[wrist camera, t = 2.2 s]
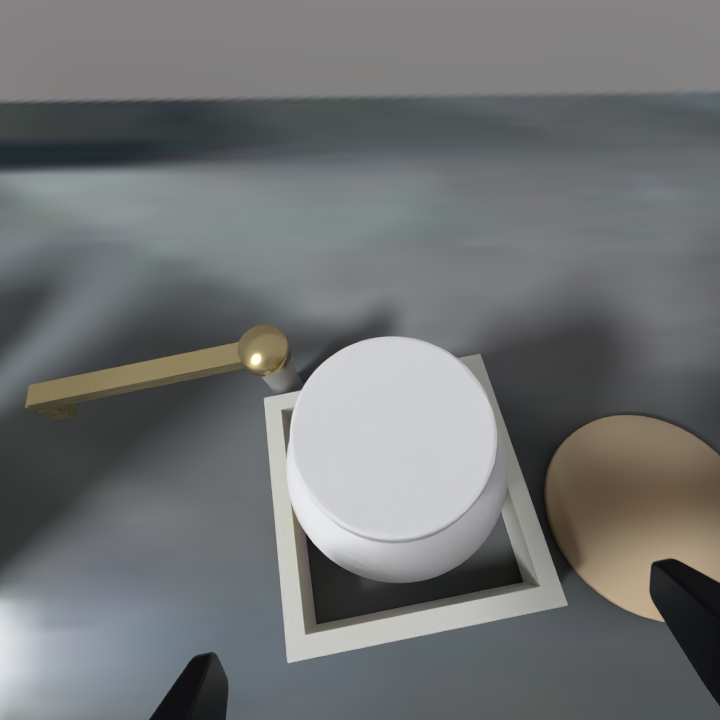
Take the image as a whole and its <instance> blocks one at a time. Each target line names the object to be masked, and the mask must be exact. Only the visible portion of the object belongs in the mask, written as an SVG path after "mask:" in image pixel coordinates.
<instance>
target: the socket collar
mask: <svg viewBox="0 0 720 720" xmlns="http://www.w3.org/2000/svg"><path fill="white" fill-rule="evenodd" d="M458 359H459V360H460V361H461V362H462V363H463V364H464V365H465V366H467V367H468V368H469V369H470V370H471V372H472V373H473V374H474V375H475V376H476V378H477V379H478V380H479V382H480V383H481V385H482V386H483V388H484V390H485V392H486V393H487V395H488V397H489V400H490V402H491V404H492V407H493V410H494V413H495V417H496V422H497V425H498V428H499V430H500V432H501V435H502V437H503V441H504V444H505V448H506V453H507V460H508V485H507V491H506V496H505V501H504V504H503V508H502V511H501V513H502V516H503V519H504V522H505V526H506V529H507V532H508V535H509V538H510V541H511V545H512V548H513V551H514V554H515V557H516V561H517V564H518V567H519V570H520V573H521V577H522V580H523V582H521V583H517V584H512V585H507V586H502V587H497V588H492V589H487V590H482V591H478V592H473V593H468V594H463V595H458V596H453V597H448V598H443V599H439V600H434V601H429V602H424V603H419V604H414V605H409V606H405V607H400V608H395V609H390V610H385V611H380V612H375V613H370V614H366V615H361V616H356V617H351V618H346V619H341V620H336V621H331V622H327V623H322V624H317V625H316V617H315V608H314V600H313V591H312V583H311V574H310V566H309V557H308V549H307V540H306V532H305V531H304V529H303V528H302V526H301V524H300V523H299V521H298V519H297V516H296V514H295V511H294V509H293V506H292V503H291V500H290V496H289V491H288V486H287V477H286V457H287V449H288V444H289V440H290V426H291V419H292V414H293V410H294V407H295V404H296V401H297V399H298V396H299V394H300V392H301V390H302V388H303V387H304V383H303V382H302V380H301V378H300V377H299V375H298V373H297V371H296V370H295V368H294V366H293V364H292V363H291V361H289V363H288V365H287V366H286V367H285V368H284V369H283V370H282V371H281V372H280V373H278V374H276V375H273V376H270V377H262V378H263V379H264V380H265V382H266V383H267V384H268V385H269V387H270V388H271V389H272V391H273V392H274V393H275V394H276V396H271V397H266V398H264V404H265V415H266V426H267V438H268V449H269V460H270V471H271V482H272V494H273V505H274V516H275V527H276V538H277V550H278V561H279V572H280V583H281V594H282V606H283V617H284V628H285V639H286V650H287V662H288V663H290V662H295V661H300V660H305V659H310V658H315V657H320V656H324V655H329V654H334V653H339V652H344V651H349V650H354V649H359V648H363V647H368V646H373V645H378V644H383V643H388V642H393V641H398V640H402V639H407V638H412V637H417V636H422V635H427V634H432V633H437V632H441V631H446V630H451V629H456V628H461V627H466V626H471V625H475V624H480V623H485V622H490V621H495V620H500V619H505V618H510V617H514V616H519V615H524V614H529V613H534V612H539V611H544V610H549V609H553V608H558V607H563V606H568V604H567V601H566V598H565V595H564V593H563V590H562V587H561V584H560V581H559V578H558V575H557V572H556V570H555V567H554V564H553V561H552V558H551V555H550V552H549V549H548V547H547V544H546V541H545V538H544V535H543V532H542V529H541V526H540V524H539V521H538V518H537V515H536V512H535V509H534V506H533V503H532V501H531V498H530V495H529V492H528V489H527V486H526V483H525V481H524V478H523V475H522V472H521V469H520V466H519V463H518V460H517V458H516V455H515V452H514V449H513V446H512V443H511V440H510V437H509V435H508V432H507V429H506V426H505V423H504V420H503V417H502V414H501V412H500V409H499V406H498V403H497V400H496V397H495V394H494V391H493V389H492V386H491V383H490V380H489V377H488V374H487V371H486V368H485V366H484V363H483V360H482V357H481V354H476V355H471V356H466V357H461V358H458Z"/></svg>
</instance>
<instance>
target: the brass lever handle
mask: <svg viewBox="0 0 720 720" xmlns="http://www.w3.org/2000/svg"><path fill="white" fill-rule="evenodd" d="M290 358H291V347H290V345H289V343H288V341H287V339H286V337H285V335H284V333H283V332H282V331H281V330H280V329H279V328H277V327H275V326H273V325H268V324H263V325H258V326H255V327H253V328H251V329H249V330H248V331H246V332H245V333H244V334H243V336H242V337H241V339H240V341H239V342H237V343H232V344H227V345H222V346H217V347H212V348H208V349H203V350H198V351H193V352H188V353H183V354H178V355H173V356H169V357H164V358H159V359H154V360H149V361H144V362H139V363H134V364H130V365H125V366H120V367H115V368H110V369H105V370H100V371H95V372H90V373H86V374H81V375H76V376H71V377H66V378H61V379H56V380H51V381H47V382H42V383H37V384H32V385H29V388H28V394H27V400H26V406H25V408H26V409H28V410H31V411H34V412H36V413H39V414H42V415H44V416H47V417H50V418H52V419H55V420H58V421H61V420H66V419H71V418H75V414H76V406H77V403H79V402H84V401H89V400H93V399H98V398H103V397H108V396H113V395H118V394H123V393H128V392H133V391H137V390H142V389H147V388H152V387H157V386H162V385H167V384H172V383H176V382H181V381H186V380H191V379H196V378H201V377H206V376H211V375H215V374H220V373H225V372H230V371H235V370H240V369H245V368H247V369H248V370H249V371H250V372H251V373H252V374H254V375H256V376H259V377H270V376H273V375H276V374H278V373H280V372H281V371H282V370H283V369H284V368H285V367H286V366H287V365H288V363H289V361H290Z"/></svg>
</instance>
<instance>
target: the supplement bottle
mask: <svg viewBox="0 0 720 720" xmlns="http://www.w3.org/2000/svg"><path fill="white" fill-rule="evenodd" d="M286 477H287V486H288V491H289V496H290V500H291V503H292V506H293V509H294V511H295V514H296V516H297V519H298V521H299V523H300V524H301V526H302V528H303V529H304V531H305V532H306V534H307V535H308V537H309V538H310V539H311V540H312V542H313V543H314V544H315V545H316V546H317V547H318V548H319V549H320V550H321V551H322V552H323V553H324V554H325V555H326V556H327V557H328V558H330V559H331V560H332V561H334V562H335V563H336V564H338V565H339V566H341V567H343V568H344V569H346V570H348V571H350V572H352V573H354V574H357V575H359V576H362V577H365V578H368V579H371V580H376V581H381V582H389V583H411V582H418V581H422V580H427V579H431V578H434V577H437V576H439V575H442V574H444V573H446V572H448V571H450V570H452V569H453V568H455V567H457V566H459V565H460V564H461V563H463V562H464V561H465V560H467V559H468V558H469V557H471V556H472V555H473V554H474V553H475V552H476V551H477V550H478V549H479V548H480V546H481V545H482V544H483V542H484V541H485V540H486V539H487V537H488V536H489V534H490V533H491V531H492V529H493V528H494V526H495V524H496V522H497V520H498V518H499V516H500V513H501V511H502V508H503V504H504V501H505V496H506V491H507V485H508V460H507V453H506V448H505V444H504V441H503V437H502V435H501V432H500V430H499V428H498V425H497V422H496V417H495V413H494V410H493V407H492V404H491V402H490V400H489V397H488V395H487V393H486V392H485V390H484V388H483V386H482V385H481V383H480V382H479V380H478V379H477V378H476V376H475V375H474V374H473V373H472V372H471V370H470V369H469V368H468V367H467V366H465V365H464V364H463V363H462V362H461V361H460V360H459V359H458V358H456V357H455V356H454V355H452V354H451V353H449V352H447V351H446V350H444V349H442V348H440V347H438V346H436V345H434V344H431V343H428V342H425V341H423V340H418V339H414V338H408V337H399V336H388V337H376V338H371V339H367V340H363V341H360V342H357V343H355V344H352V345H350V346H347V347H345V348H343V349H341V350H340V351H338V352H337V353H335V354H334V355H333V356H331V357H329V358H328V359H327V360H326V361H324V362H323V363H322V364H321V365H320V366H319V367H318V368H317V369H316V370H315V371H314V373H313V374H312V375H311V376H310V377H309V379H308V380H307V382H306V383H305V385H304V387H303V388H302V390H301V392H300V394H299V396H298V399H297V401H296V404H295V407H294V410H293V414H292V419H291V426H290V440H289V444H288V449H287V457H286Z"/></svg>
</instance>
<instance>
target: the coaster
mask: <svg viewBox="0 0 720 720" xmlns="http://www.w3.org/2000/svg"><path fill="white" fill-rule="evenodd" d="M544 502H545V510H546V515H547V520H548V523H549V526H550V529H551V532H552V534H553V536H554V539H555V541H556V543H557V545H558V547H559V549H560V550H561V552H562V554H563V555H564V557H565V559H566V560H567V561H568V563H569V564H570V565H571V567H572V568H573V569H574V571H575V572H576V573H577V574H578V575H579V576H580V577H581V578H582V579H583V580H584V582H586V583H587V584H588V585H589V586H590V587H591V588H592V589H593V590H595V591H596V592H597V593H598V594H600V595H601V596H603V597H604V598H605V599H607V600H608V601H610V602H611V603H613V604H615V605H617V606H619V607H621V608H622V609H624V610H627V611H629V612H632V613H634V614H636V615H639V616H643V617H646V618H650V619H654V620H657V621H661V622H665V621H664V619H663V618H662V616H661V614H660V613H659V611H658V610H657V608H656V606H655V605H654V603H653V601H652V599H651V596H650V592H649V585H650V571H651V564H652V563H653V562H654V561H658V560H663V559H668V558H673V559H676V560H679V561H681V562H683V563H685V564H686V565H688V566H690V567H692V568H694V569H696V570H698V571H699V572H701V573H703V574H705V575H707V576H709V577H710V578H712V579H714V580H716V581H718V582H720V456H719V455H718V454H717V453H716V452H715V451H714V450H713V449H711V448H710V447H709V446H708V445H707V444H705V443H704V442H703V441H701V440H700V439H698V438H697V437H695V436H694V435H692V434H690V433H689V432H687V431H685V430H683V429H681V428H679V427H677V426H674V425H672V424H670V423H667V422H664V421H661V420H658V419H654V418H649V417H644V416H636V415H616V416H610V417H605V418H601V419H598V420H595V421H593V422H590V423H588V424H586V425H584V426H583V427H581V428H580V429H578V430H577V431H575V432H574V433H572V434H571V435H570V436H569V437H568V438H566V439H565V440H564V441H563V442H562V444H561V445H560V446H559V447H558V449H557V450H556V452H555V453H554V455H553V457H552V459H551V461H550V464H549V466H548V469H547V473H546V478H545V486H544Z"/></svg>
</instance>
